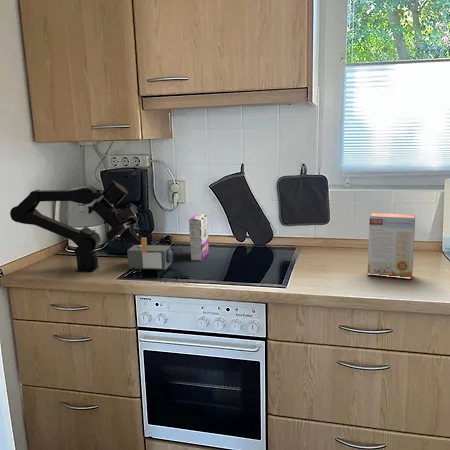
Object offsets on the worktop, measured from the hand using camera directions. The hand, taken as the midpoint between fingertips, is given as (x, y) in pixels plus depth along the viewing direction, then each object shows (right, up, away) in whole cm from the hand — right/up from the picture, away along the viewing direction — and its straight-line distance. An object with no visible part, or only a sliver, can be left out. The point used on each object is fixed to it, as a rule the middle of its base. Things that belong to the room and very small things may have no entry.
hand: (140, 244), depth 169 cm
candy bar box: (+20, -6, +18) cm, 28 cm away
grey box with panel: (+3, -9, +7) cm, 11 cm away
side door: (+4, -10, +2) cm, 11 cm away
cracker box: (+86, -11, -10) cm, 87 cm away
